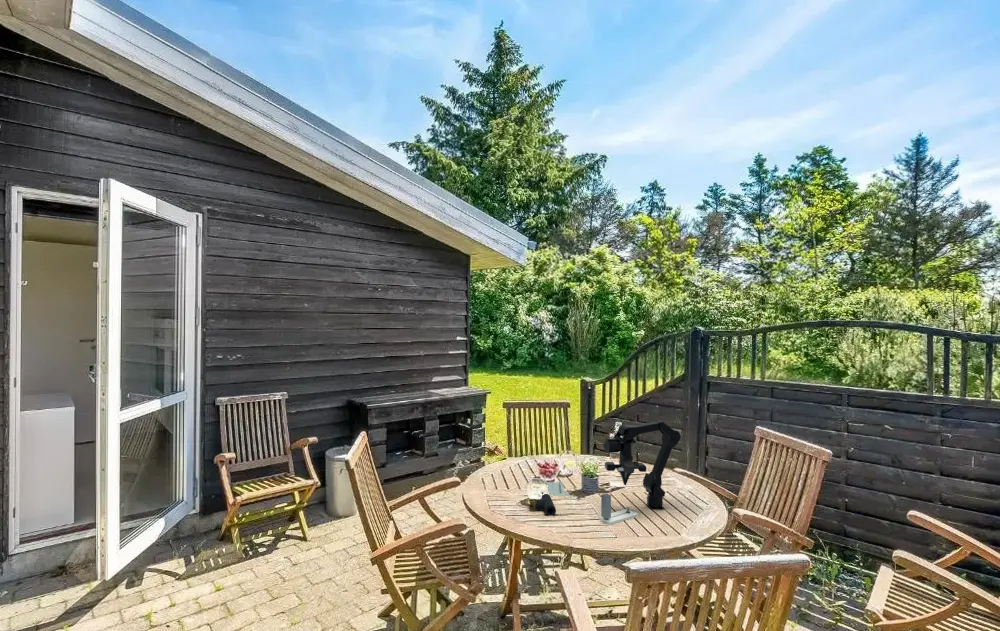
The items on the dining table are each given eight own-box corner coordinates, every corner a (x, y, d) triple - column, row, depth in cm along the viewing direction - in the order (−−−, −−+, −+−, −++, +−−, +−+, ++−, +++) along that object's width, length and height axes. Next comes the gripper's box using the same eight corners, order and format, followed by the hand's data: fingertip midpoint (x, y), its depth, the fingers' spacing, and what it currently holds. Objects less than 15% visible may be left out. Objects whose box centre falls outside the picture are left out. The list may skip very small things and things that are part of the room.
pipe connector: (531, 505, 225) (528, 493, 240) (531, 516, 225) (527, 504, 240) (556, 505, 226) (551, 493, 241) (555, 516, 226) (550, 504, 241)
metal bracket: (538, 478, 262) (566, 478, 261) (538, 487, 264) (566, 488, 263) (539, 495, 248) (569, 495, 248) (539, 504, 250) (568, 505, 249)
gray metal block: (606, 516, 221) (606, 493, 222) (610, 518, 219) (611, 495, 219) (601, 517, 220) (601, 494, 220) (606, 520, 217) (606, 496, 217)
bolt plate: (626, 511, 231) (626, 503, 231) (638, 516, 225) (638, 508, 226) (598, 519, 222) (598, 511, 222) (609, 524, 216) (609, 517, 216)
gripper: (610, 456, 225) (609, 489, 225) (650, 457, 225) (649, 491, 225) (604, 449, 236) (604, 482, 236) (643, 450, 236) (642, 483, 236)
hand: (624, 484), depth 233 cm, fingers closed
